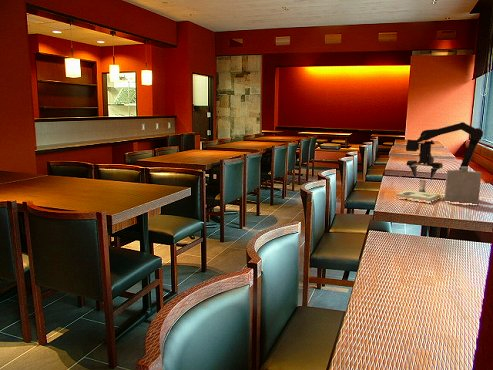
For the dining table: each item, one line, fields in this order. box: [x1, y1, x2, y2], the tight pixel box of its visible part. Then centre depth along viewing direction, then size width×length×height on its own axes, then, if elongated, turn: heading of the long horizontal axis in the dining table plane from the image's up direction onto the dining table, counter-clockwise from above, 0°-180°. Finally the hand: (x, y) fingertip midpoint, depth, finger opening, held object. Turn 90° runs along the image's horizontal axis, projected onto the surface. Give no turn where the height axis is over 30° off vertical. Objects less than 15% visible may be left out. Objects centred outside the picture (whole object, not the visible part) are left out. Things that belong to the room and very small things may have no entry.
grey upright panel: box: [443, 166, 482, 205], centre depth 219 cm, size 16×4×20 cm, turn 66°
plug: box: [418, 179, 427, 193], centre depth 245 cm, size 3×3×8 cm
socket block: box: [396, 189, 441, 201], centre depth 232 cm, size 18×14×3 cm
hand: (423, 179), depth 244 cm, fingers open, 9 cm apart
